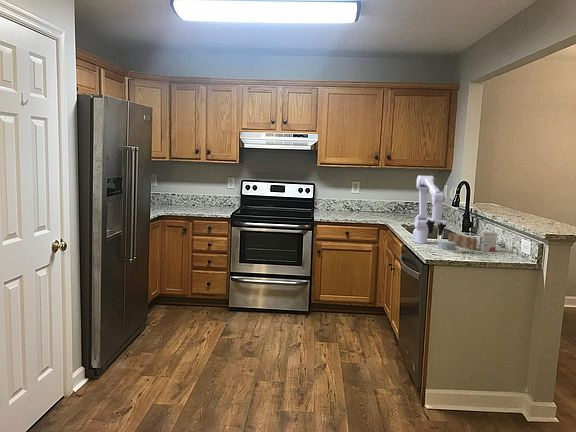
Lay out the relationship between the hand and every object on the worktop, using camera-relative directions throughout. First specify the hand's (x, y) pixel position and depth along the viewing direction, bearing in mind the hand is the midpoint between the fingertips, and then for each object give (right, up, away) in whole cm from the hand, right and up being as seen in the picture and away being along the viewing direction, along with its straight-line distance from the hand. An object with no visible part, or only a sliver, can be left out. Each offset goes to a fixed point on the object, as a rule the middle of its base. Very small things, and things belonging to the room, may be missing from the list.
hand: (435, 234), depth 292 cm
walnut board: (+21, -8, +13) cm, 26 cm away
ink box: (+33, -10, +4) cm, 35 cm away
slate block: (+9, -9, +7) cm, 15 cm away
